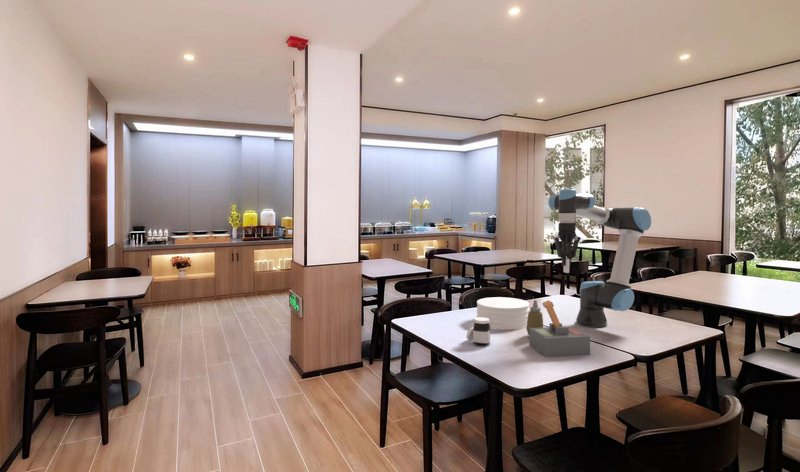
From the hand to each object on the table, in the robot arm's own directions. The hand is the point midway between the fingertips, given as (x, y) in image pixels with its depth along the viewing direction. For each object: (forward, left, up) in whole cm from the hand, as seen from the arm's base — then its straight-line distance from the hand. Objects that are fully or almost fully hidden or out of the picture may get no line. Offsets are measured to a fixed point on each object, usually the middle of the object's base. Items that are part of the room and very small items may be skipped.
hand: (566, 272), depth 199 cm
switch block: (+10, +13, -32) cm, 36 cm away
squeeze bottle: (+12, -7, -33) cm, 35 cm away
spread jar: (+42, -2, -33) cm, 53 cm away
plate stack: (+18, -34, -33) cm, 51 cm away
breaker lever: (+9, +13, -24) cm, 29 cm away
